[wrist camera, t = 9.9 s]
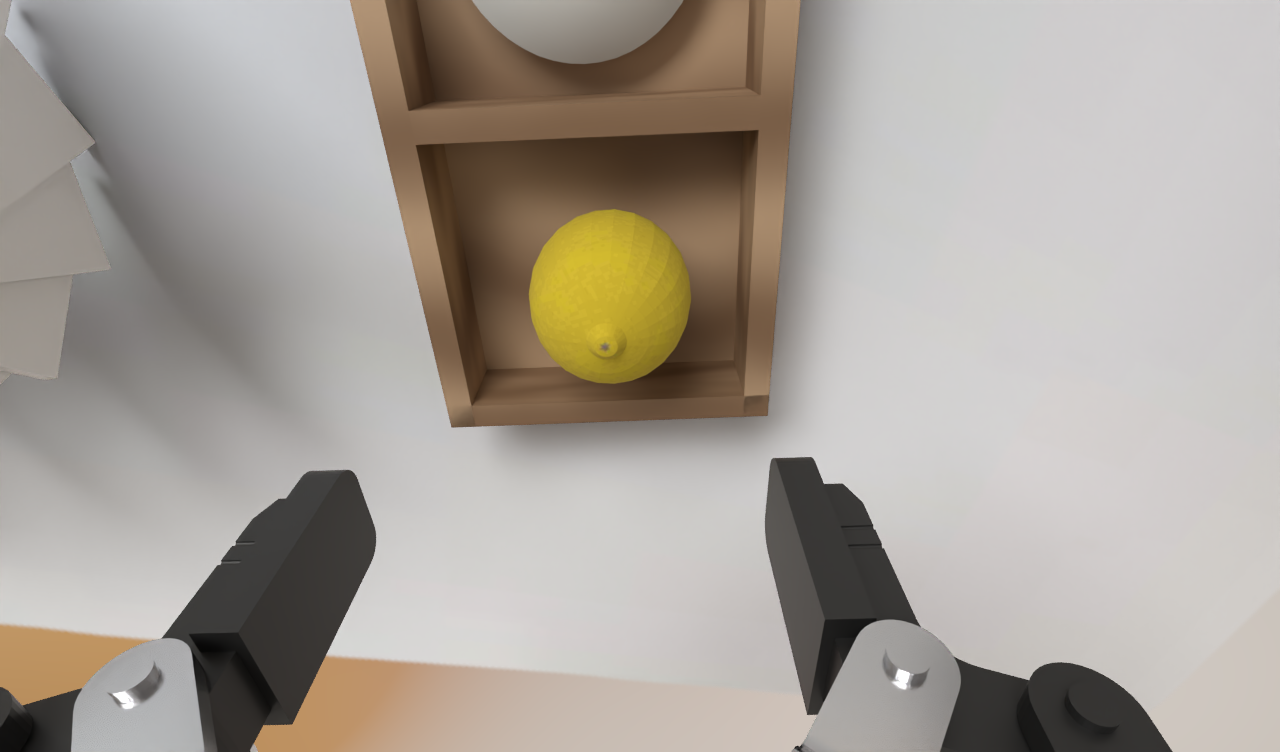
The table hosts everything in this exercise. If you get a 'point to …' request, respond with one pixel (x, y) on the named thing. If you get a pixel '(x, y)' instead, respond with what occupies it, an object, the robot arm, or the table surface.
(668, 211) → the divided wooden tray
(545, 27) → the white egg
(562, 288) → the lemon
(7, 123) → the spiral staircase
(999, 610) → the table surface
